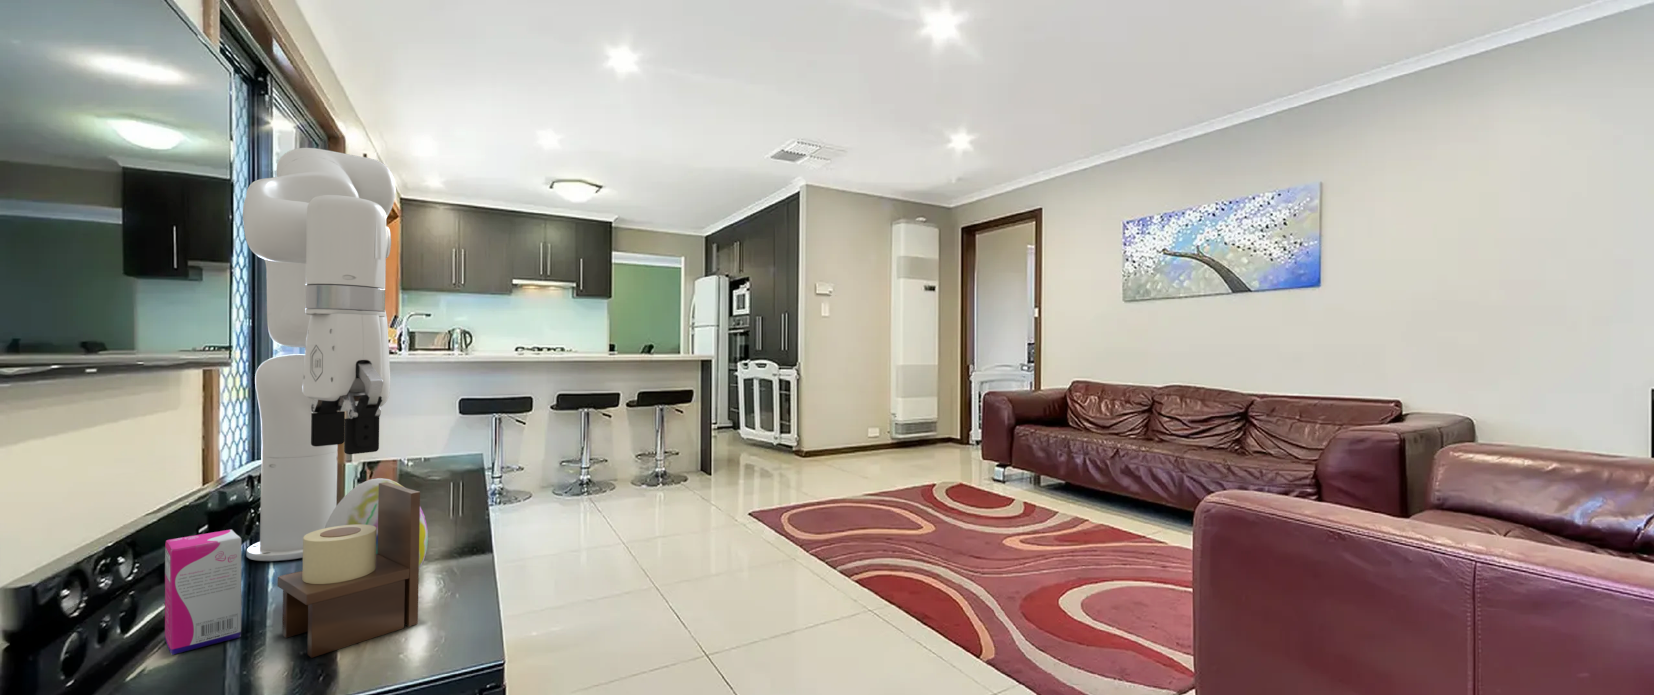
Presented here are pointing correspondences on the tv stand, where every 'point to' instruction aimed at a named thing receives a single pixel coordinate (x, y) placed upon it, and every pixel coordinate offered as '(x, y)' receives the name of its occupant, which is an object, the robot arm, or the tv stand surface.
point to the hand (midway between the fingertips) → (344, 448)
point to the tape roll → (339, 553)
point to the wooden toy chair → (362, 585)
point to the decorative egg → (370, 512)
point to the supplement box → (202, 590)
